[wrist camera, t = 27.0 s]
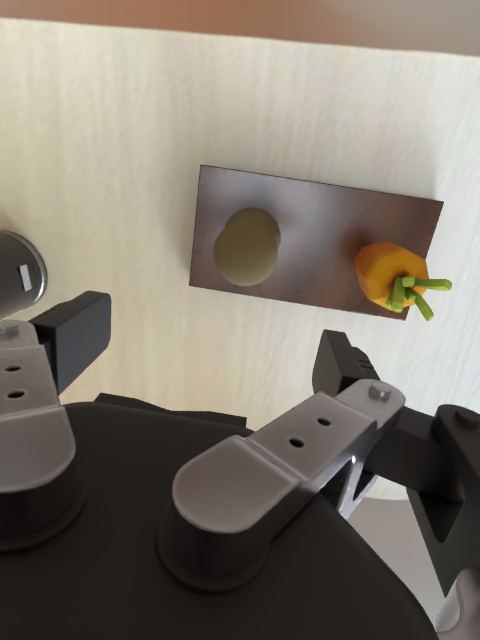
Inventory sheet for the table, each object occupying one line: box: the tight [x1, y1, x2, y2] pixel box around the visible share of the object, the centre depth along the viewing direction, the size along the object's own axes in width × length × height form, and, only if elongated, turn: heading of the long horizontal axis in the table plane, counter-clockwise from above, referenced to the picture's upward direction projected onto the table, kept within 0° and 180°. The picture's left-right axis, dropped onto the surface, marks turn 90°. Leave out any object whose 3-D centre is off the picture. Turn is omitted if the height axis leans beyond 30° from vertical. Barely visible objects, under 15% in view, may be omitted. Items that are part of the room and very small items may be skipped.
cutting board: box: [189, 165, 444, 321], centre depth 39 cm, size 24×12×2 cm, turn 82°
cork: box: [213, 208, 281, 286], centre depth 33 cm, size 6×6×11 cm
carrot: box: [354, 242, 452, 321], centre depth 31 cm, size 5×5×15 cm
